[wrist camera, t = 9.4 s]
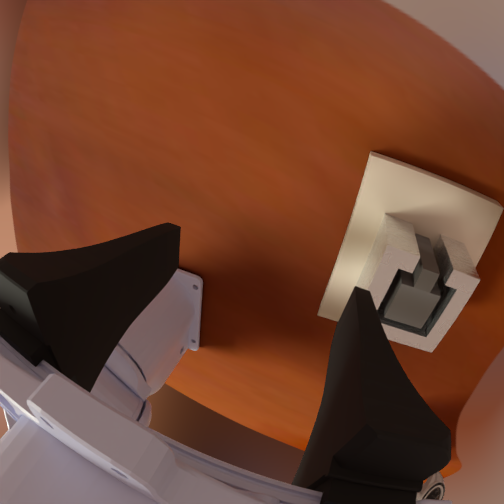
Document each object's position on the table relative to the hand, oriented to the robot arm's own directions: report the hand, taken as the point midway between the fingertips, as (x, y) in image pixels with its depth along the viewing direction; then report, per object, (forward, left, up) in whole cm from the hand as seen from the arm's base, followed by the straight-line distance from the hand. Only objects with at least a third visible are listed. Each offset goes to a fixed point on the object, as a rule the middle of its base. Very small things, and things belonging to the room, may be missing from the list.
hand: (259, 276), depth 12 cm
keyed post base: (-2, -8, -9) cm, 12 cm away
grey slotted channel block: (-2, -8, -8) cm, 11 cm away
